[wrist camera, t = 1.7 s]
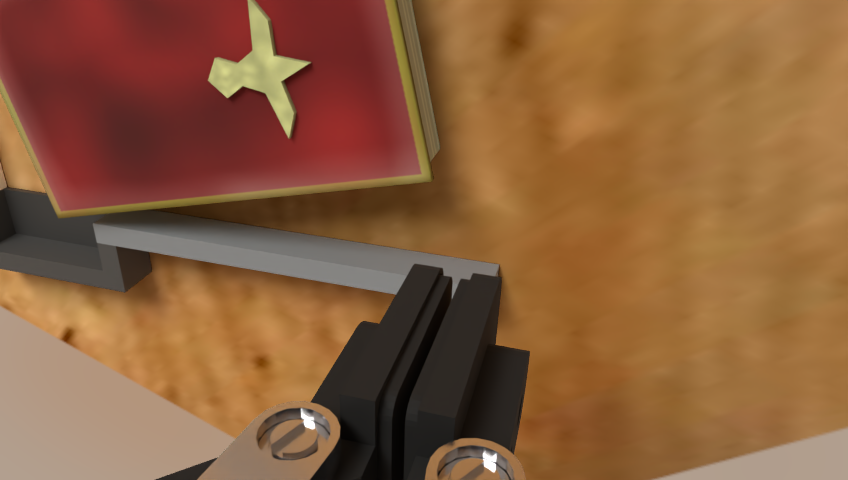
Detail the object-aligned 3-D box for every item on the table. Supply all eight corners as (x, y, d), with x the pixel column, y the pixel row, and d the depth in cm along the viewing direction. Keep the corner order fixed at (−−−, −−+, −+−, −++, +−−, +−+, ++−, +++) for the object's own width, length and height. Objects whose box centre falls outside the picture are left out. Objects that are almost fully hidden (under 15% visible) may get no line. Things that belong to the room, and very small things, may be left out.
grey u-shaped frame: (553, -284, 23) (546, -303, 21) (492, 332, 36) (484, 360, 33) (-142, -269, 30) (-201, -282, 28) (8, 245, 42) (-25, 263, 40)
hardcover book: (16, -26, 34) (-56, -17, 30) (399, -124, 27) (365, -128, 24) (107, 190, 39) (54, 220, 35) (451, 152, 32) (430, 184, 29)
